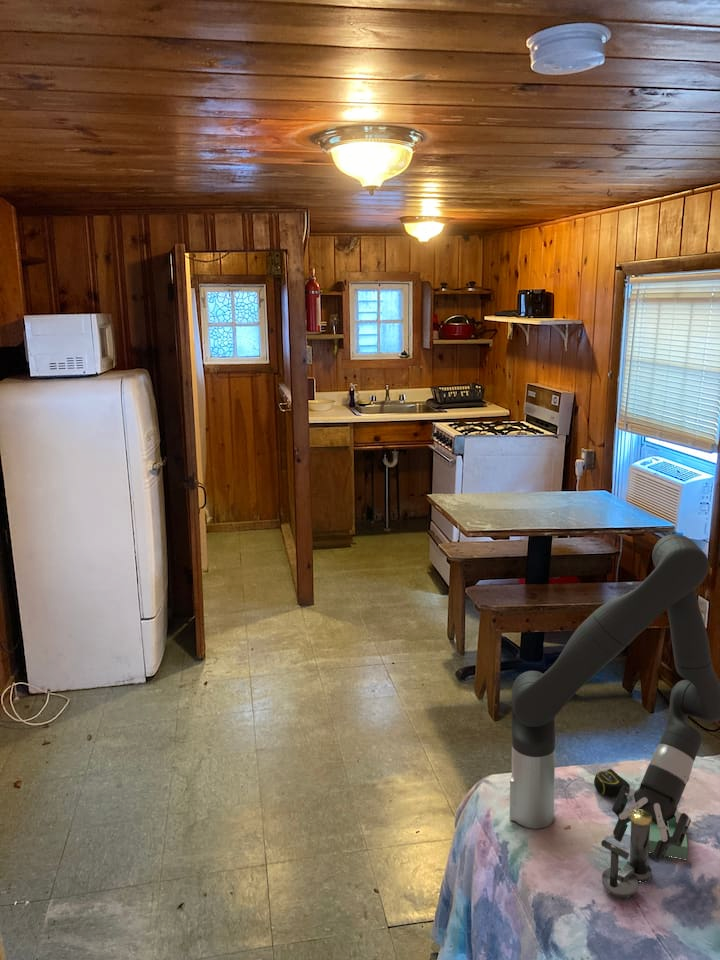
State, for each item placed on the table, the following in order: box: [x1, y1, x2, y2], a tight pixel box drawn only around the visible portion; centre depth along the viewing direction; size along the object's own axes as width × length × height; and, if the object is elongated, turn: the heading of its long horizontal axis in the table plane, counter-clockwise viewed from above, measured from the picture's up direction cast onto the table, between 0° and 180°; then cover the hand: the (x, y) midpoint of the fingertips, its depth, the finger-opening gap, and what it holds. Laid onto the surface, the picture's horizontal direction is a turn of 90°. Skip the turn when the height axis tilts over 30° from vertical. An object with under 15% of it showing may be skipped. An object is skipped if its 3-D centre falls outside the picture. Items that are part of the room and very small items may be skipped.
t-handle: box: [600, 839, 639, 900], centre depth 141 cm, size 7×6×11 cm
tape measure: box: [593, 768, 631, 798], centre depth 172 cm, size 7×7×4 cm
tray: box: [649, 816, 688, 860], centre depth 156 cm, size 11×11×3 cm
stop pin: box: [625, 809, 652, 883], centre depth 145 cm, size 5×5×13 cm
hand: (635, 850), depth 144 cm, fingers open, 7 cm apart
